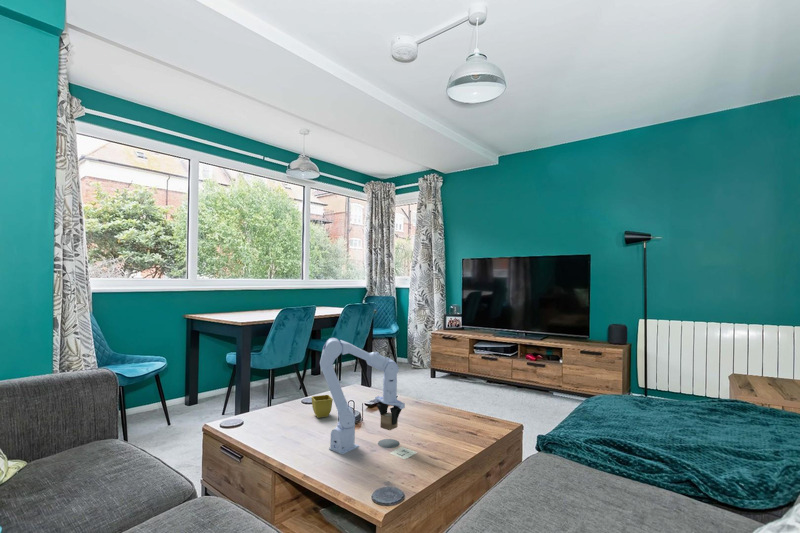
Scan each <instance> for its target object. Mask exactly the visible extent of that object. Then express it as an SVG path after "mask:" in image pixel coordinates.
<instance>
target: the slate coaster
mask: <svg viewBox="0 0 800 533" xmlns="http://www.w3.org/2000/svg"><path fill="white" fill-rule="evenodd" d="M400 444H401V443H400V441H398V440H397V439H393V438H384V439H380V440H379V441H378V442H377V445H378V447H380V448H382V449H383V448H384V449H393V448H398V447H399V446H400Z"/></svg>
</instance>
